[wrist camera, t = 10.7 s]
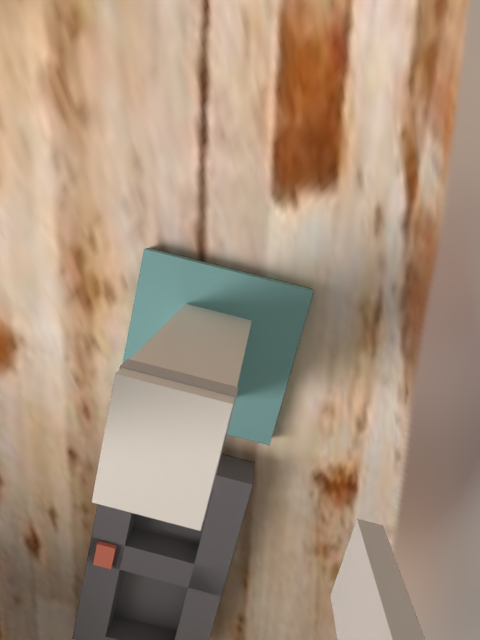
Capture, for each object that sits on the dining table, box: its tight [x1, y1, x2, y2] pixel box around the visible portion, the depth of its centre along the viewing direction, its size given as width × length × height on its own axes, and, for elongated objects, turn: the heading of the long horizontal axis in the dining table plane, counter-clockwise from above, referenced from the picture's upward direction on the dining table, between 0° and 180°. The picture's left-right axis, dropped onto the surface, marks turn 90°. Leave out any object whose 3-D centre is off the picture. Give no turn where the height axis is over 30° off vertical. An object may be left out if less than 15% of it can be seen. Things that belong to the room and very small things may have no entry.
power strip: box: [72, 454, 255, 640], centre depth 30 cm, size 15×9×3 cm, turn 166°
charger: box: [92, 304, 252, 531], centre depth 21 cm, size 5×4×12 cm
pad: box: [123, 248, 313, 445], centre depth 28 cm, size 10×10×1 cm
